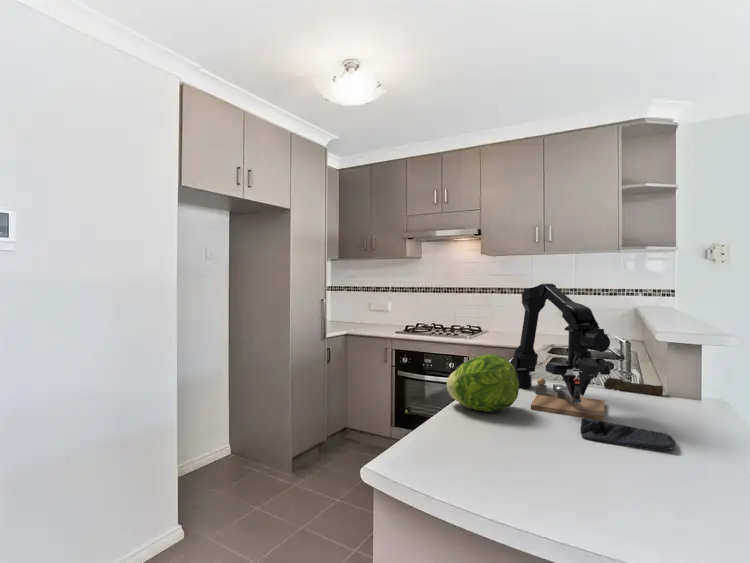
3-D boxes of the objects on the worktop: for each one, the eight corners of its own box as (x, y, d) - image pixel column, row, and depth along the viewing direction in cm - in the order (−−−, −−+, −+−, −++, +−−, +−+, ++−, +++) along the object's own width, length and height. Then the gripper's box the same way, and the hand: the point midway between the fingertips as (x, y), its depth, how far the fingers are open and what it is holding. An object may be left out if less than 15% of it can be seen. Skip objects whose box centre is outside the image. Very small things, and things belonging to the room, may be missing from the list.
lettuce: (463, 397, 152) (452, 349, 151) (529, 396, 140) (518, 344, 138) (444, 422, 136) (431, 369, 135) (517, 423, 124) (504, 365, 122)
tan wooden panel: (529, 409, 138) (529, 386, 137) (537, 395, 153) (537, 375, 153) (603, 420, 127) (603, 396, 127) (604, 404, 143) (604, 383, 143)
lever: (551, 390, 150) (551, 367, 150) (563, 390, 150) (564, 367, 149) (569, 405, 132) (570, 379, 132) (584, 406, 132) (584, 379, 132)
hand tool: (662, 395, 155) (663, 382, 155) (663, 397, 152) (663, 385, 152) (605, 387, 166) (605, 375, 166) (603, 389, 163) (604, 377, 163)
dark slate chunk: (676, 460, 101) (677, 440, 101) (576, 439, 113) (576, 422, 113) (674, 439, 114) (674, 422, 114) (584, 423, 126) (584, 407, 126)
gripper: (564, 350, 124) (563, 403, 124) (623, 351, 126) (621, 402, 126) (545, 344, 135) (544, 393, 135) (599, 345, 137) (598, 392, 137)
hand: (576, 395), depth 133 cm, fingers open, 3 cm apart
